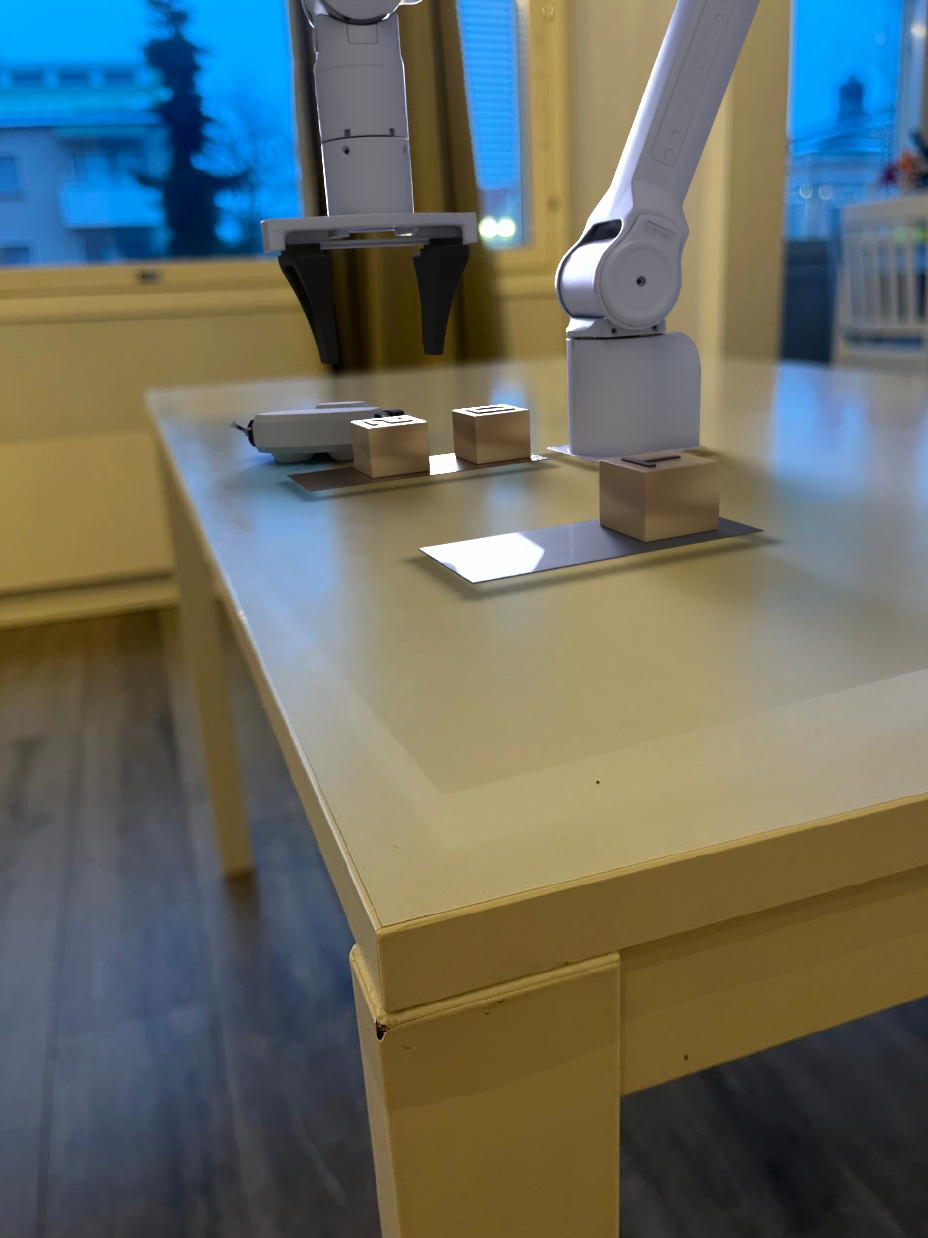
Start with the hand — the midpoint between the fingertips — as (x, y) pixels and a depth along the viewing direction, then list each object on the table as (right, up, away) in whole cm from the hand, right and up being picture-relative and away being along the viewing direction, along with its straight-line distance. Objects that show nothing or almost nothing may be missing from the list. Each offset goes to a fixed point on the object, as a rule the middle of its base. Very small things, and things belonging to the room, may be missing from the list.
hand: (382, 359), depth 67 cm
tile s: (0, -7, +3) cm, 8 cm away
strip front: (+12, -15, -18) cm, 26 cm away
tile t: (+16, -13, -17) cm, 27 cm away
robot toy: (-5, -5, +13) cm, 15 cm away
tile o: (+8, -6, +5) cm, 11 cm away
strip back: (+2, -8, +3) cm, 9 cm away
